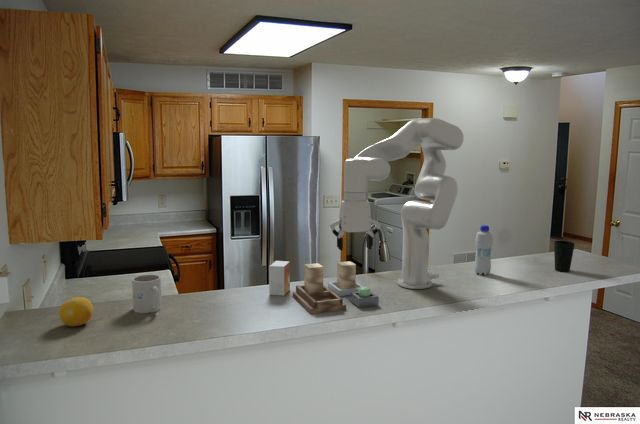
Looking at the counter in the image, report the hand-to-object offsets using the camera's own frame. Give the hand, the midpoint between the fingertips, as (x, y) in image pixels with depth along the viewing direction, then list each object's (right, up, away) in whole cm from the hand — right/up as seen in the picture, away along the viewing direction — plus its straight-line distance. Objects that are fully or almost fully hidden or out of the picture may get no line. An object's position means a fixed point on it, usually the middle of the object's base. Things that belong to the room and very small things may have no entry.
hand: (354, 248), depth 162 cm
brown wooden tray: (-12, -18, +3) cm, 22 cm away
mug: (-65, -19, -6) cm, 68 cm away
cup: (+90, -13, +44) cm, 101 cm away
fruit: (-82, -21, -18) cm, 87 cm away
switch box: (+3, -18, +2) cm, 19 cm away
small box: (-26, -17, +13) cm, 33 cm away
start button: (+3, -16, +2) cm, 17 cm away
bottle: (+55, -13, +39) cm, 68 cm away
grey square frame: (-2, -16, +16) cm, 23 cm away
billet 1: (-13, -16, +7) cm, 22 cm away
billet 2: (-2, -16, +16) cm, 23 cm away
